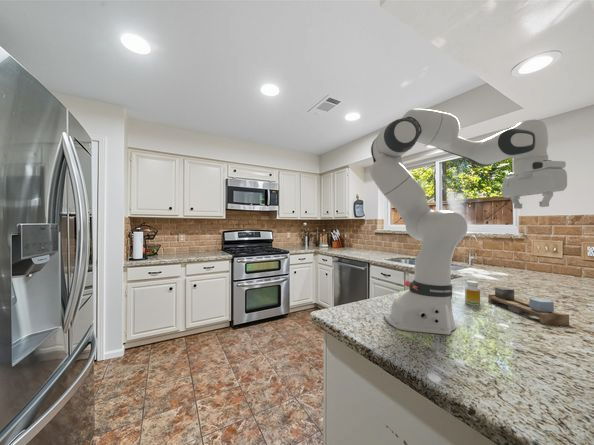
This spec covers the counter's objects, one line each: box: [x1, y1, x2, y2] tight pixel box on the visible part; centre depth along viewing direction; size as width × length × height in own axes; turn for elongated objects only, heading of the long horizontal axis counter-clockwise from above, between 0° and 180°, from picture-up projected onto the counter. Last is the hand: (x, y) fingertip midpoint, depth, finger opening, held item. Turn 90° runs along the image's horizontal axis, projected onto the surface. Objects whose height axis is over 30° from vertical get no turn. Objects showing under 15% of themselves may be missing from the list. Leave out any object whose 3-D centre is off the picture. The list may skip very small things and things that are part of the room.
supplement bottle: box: [464, 280, 481, 307], centre depth 106 cm, size 5×5×10 cm
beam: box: [487, 286, 570, 326], centre depth 97 cm, size 9×24×7 cm, turn 0°
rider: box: [528, 298, 555, 313], centre depth 90 cm, size 5×4×4 cm
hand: (530, 207), depth 84 cm, fingers open, 8 cm apart
